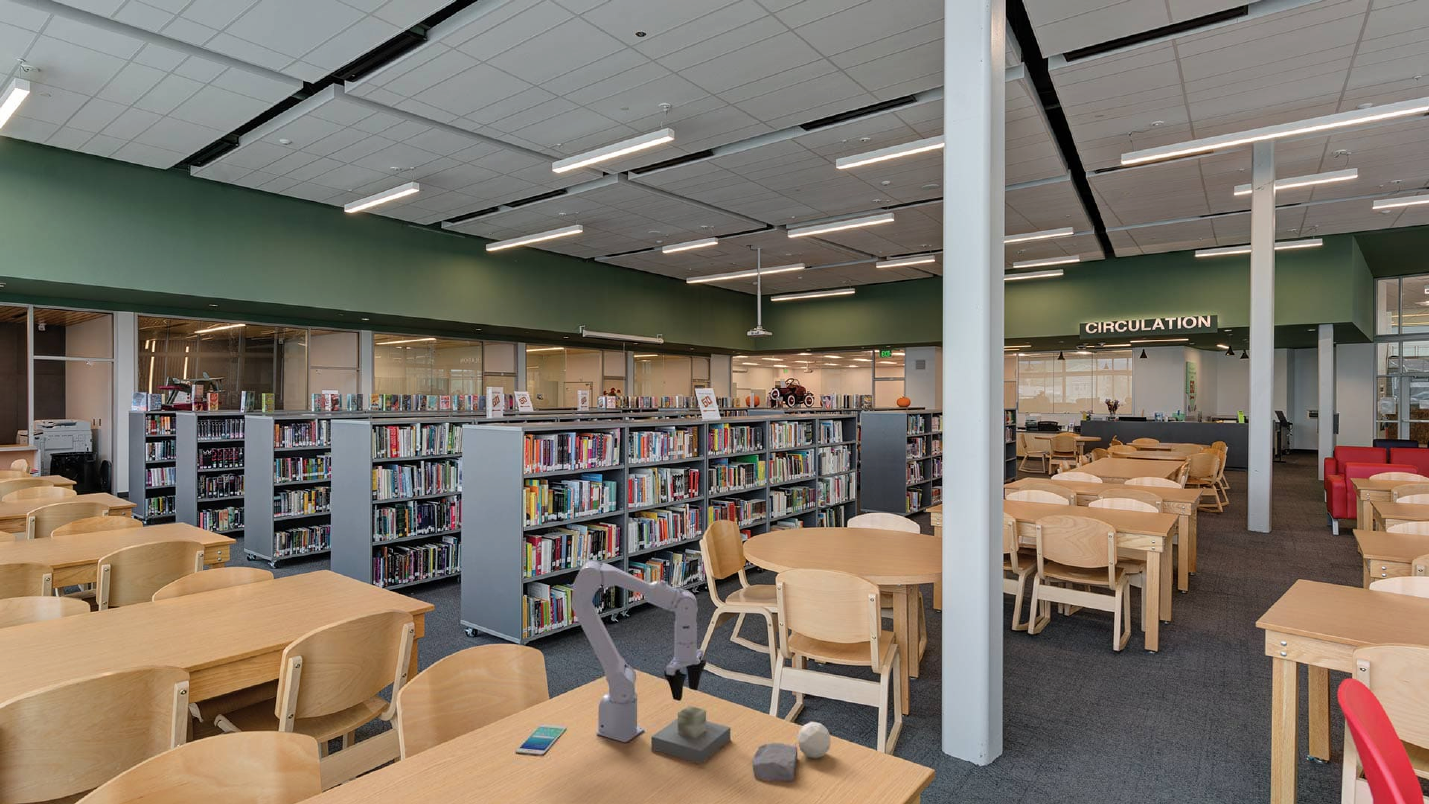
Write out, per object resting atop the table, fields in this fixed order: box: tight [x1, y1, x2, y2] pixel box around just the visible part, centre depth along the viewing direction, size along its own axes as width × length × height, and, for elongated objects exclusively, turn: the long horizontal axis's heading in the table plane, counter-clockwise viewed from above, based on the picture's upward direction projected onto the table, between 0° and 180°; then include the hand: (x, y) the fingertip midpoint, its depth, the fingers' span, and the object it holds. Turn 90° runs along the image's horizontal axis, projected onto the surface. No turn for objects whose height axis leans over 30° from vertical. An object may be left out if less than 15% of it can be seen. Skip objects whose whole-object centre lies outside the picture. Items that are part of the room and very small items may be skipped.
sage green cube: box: [677, 705, 707, 738], centre depth 173 cm, size 5×5×5 cm
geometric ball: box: [797, 721, 832, 760], centre depth 167 cm, size 8×8×8 cm
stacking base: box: [650, 718, 731, 765], centre depth 173 cm, size 14×14×3 cm
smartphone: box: [515, 723, 567, 756], centre depth 175 cm, size 8×1×15 cm
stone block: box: [752, 742, 798, 783], centre depth 162 cm, size 12×5×10 cm
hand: (685, 694), depth 180 cm, fingers open, 7 cm apart
